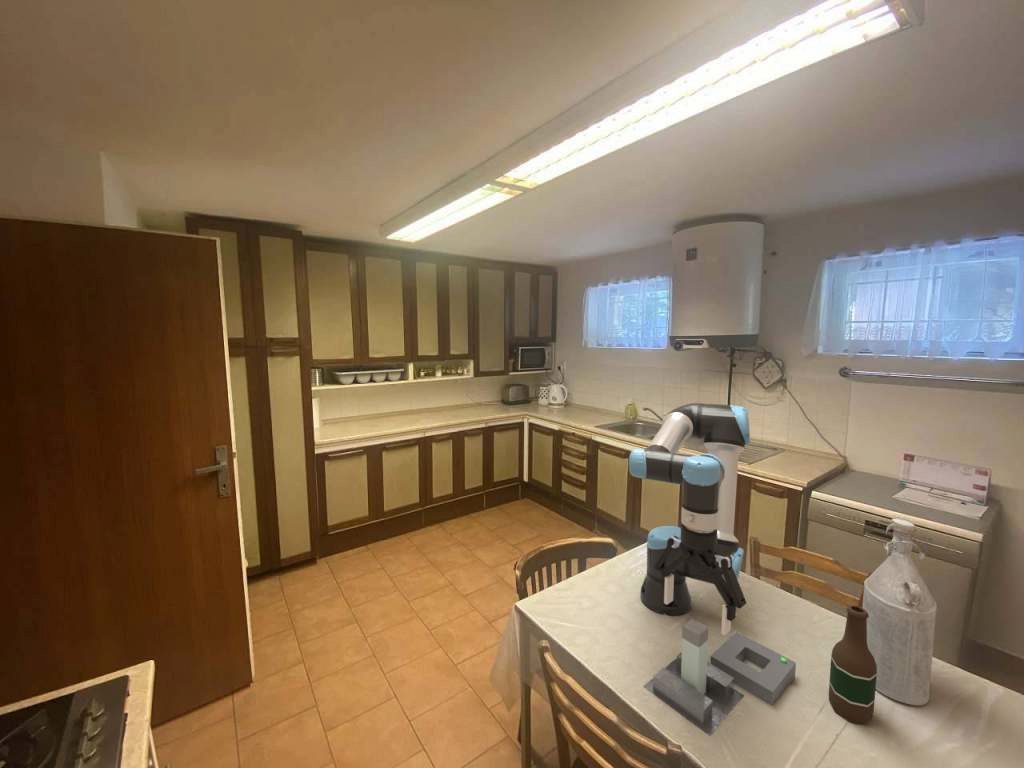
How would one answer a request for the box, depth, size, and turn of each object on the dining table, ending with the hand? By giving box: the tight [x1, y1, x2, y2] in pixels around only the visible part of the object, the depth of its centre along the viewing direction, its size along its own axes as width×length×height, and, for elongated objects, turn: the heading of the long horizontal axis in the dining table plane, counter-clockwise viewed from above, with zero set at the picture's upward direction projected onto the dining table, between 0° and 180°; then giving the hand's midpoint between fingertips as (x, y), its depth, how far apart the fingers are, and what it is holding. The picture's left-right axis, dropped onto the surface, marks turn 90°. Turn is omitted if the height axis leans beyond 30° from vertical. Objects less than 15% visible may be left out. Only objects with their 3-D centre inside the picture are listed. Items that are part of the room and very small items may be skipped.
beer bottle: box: [828, 604, 877, 726], centre depth 92 cm, size 8×8×24 cm
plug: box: [681, 618, 709, 694], centre depth 97 cm, size 4×4×16 cm
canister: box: [861, 518, 938, 706], centre depth 99 cm, size 13×17×40 cm
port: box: [709, 631, 797, 706], centre depth 103 cm, size 14×14×5 cm
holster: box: [643, 651, 745, 737], centre depth 98 cm, size 16×16×4 cm
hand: (695, 616), depth 96 cm, fingers open, 13 cm apart
